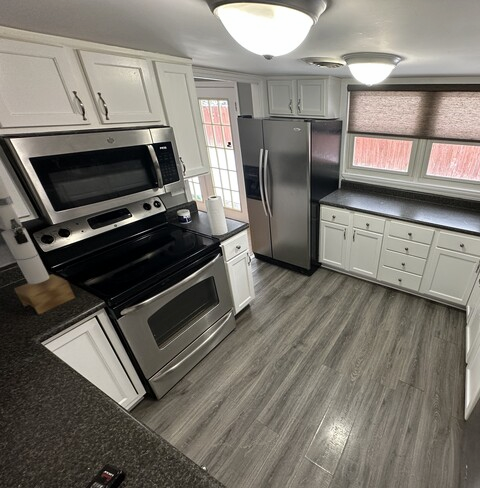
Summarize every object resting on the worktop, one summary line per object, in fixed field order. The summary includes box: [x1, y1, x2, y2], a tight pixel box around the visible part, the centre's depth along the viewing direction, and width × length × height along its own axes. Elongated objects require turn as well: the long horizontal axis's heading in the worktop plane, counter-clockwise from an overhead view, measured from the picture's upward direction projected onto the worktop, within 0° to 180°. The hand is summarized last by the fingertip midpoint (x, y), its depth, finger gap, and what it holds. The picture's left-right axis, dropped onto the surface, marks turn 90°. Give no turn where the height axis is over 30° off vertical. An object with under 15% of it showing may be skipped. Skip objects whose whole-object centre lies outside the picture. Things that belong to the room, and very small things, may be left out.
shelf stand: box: [13, 273, 76, 315], centre depth 127 cm, size 14×14×10 cm
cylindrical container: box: [0, 227, 50, 284], centre depth 118 cm, size 7×7×25 cm
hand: (18, 241), depth 115 cm, fingers closed on cylindrical container, 7 cm apart
